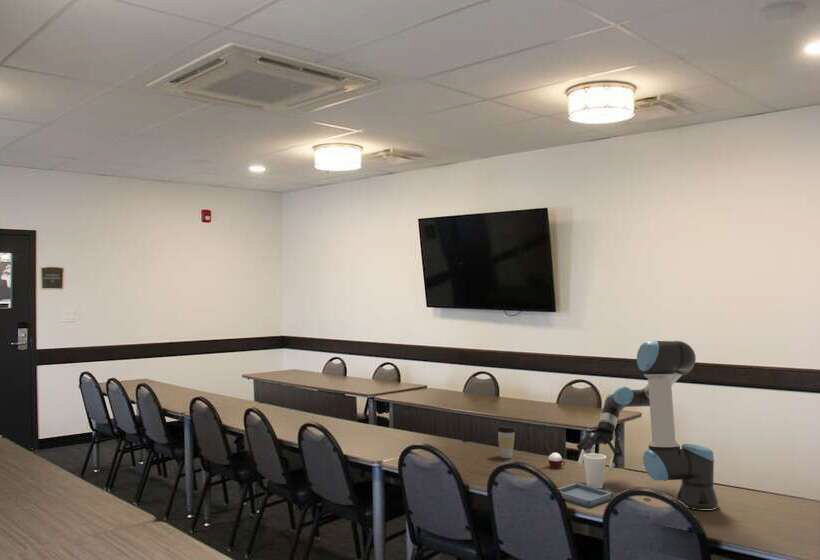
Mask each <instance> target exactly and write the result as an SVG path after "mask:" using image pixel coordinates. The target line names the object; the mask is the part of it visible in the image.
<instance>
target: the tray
mask: <svg viewBox="0 0 820 560" xmlns="http://www.w3.org/2000/svg"><path fill="white" fill-rule="evenodd" d="M557 489H559V490H560V492H561V493H562V495H563V497H564V498H565V500H564V501H566V500H567V501H566V502H570V503H573V504H576V505H580V506H583V507H587V508H592V507H595V506H598V505H601V504H604V503H606V502H609V501H612V500H611V498H613V499H614V493H613V492H610V491H607V490H604V489H601V488H598V489H597V488H593V487H590V486H587V484H583V483H579V482H574V483H570V484H568V485H564V486H562V487H559V488H557Z"/></svg>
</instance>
